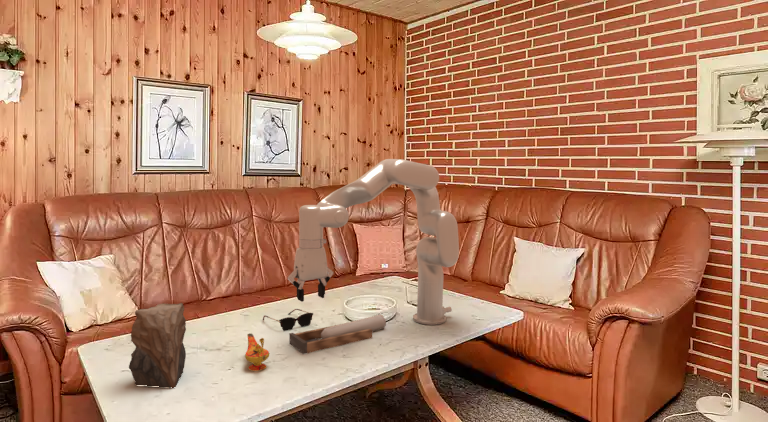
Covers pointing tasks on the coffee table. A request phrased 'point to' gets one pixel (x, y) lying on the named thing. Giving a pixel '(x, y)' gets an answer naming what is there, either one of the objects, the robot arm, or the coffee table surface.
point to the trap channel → (309, 342)
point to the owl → (158, 345)
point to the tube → (355, 326)
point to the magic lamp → (256, 354)
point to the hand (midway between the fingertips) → (311, 298)
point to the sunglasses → (294, 320)
